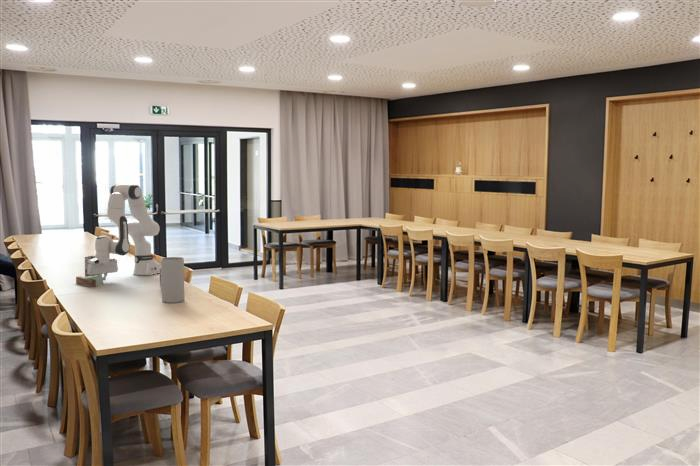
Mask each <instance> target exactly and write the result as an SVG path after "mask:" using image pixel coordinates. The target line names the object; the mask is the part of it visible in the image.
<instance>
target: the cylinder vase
mask: <svg viewBox="0 0 700 466" xmlns="http://www.w3.org/2000/svg"><path fill="white" fill-rule="evenodd" d="M160 265H161V268H162V289H161V301H162V302H163V303H165V302H166V303H167V304H177V303H176V302H178V303H181V302H184V301H185V258H184V257H180V256H179V257H178V256H171V257H170V256H169V257H161V259H160Z"/></svg>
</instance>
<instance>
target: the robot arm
mask: <svg viewBox="0 0 700 466" xmlns="http://www.w3.org/2000/svg"><path fill="white" fill-rule="evenodd" d="M109 193H110V195H109V199H108V202H107V210H106V213H107V217H108V219H109V220H110V221H111V222H113V223H114V224H116V226H117V228H118V239H114V238H111V237H109V236H108V235H105V234H104V235H99V236H97V237H96V238H95V242H94V248H95V249H94V250H95V255H94V256H95V258H93V259H90V260H88V263H90V264H88V267H87V273H88V275H97V274H99V276H102V277H103V281H106V280H107V279H106V278H107V276H108V274H112V273H118V271H119V267H118V260H117V259H116V258H111V257H110V254H112V255H119V256H126V255H127V254H128V253H129V252H130V250H131V246H130V241H129V236H130V237H131V239H132V241H133V245H134V268H133V275H135V276H154V275H158V274H157V273H160V266H161V263H160V262H158V261H156V260H155V259H156V258H157V256H156V254H152V243H150V242H149V241H148V240H147V239H146V237H154V236H158V235H159V233H160V225H159V223H158V222H156V221H155V220H154V219H153V218H152V217H151V216H150V214H149V211H148V210H147V206H146V203H145V198H144V195H143V193H142V188H141V186H139V185H138V184H135V183H133V184H132V183H113V185H112V186H111V187H110V188H109ZM126 200H127V202H128V207H129V211H130V215H131V217H132V218H134V219H136V220H131V221H128V219H127V217H126V214H125V213H126ZM154 258H155V259H154ZM153 274H154V275H153Z"/></svg>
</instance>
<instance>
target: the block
mask: <svg viewBox="0 0 700 466" xmlns="http://www.w3.org/2000/svg"><path fill="white" fill-rule="evenodd" d="M103 277H104V276H103V275H102V276H98V275H96V276H87V277H86V278H90V279H94V280H96V286H98V285H104V280H103Z"/></svg>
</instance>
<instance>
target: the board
mask: <svg viewBox="0 0 700 466" xmlns="http://www.w3.org/2000/svg"><path fill="white" fill-rule="evenodd" d="M75 283H76V285H81V286H85V287H89V288H96V287H97V285H96V280H94V279H90V278H86V277H85V276H81V275H80V276H79V275H78V276H75Z"/></svg>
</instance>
